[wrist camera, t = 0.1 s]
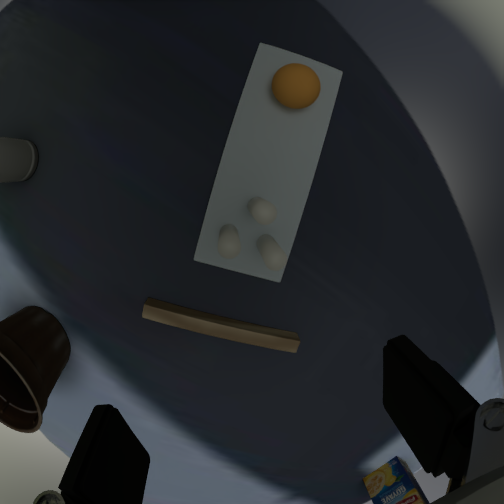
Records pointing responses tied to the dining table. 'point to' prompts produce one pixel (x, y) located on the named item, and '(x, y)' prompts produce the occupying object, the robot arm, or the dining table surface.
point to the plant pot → (29, 366)
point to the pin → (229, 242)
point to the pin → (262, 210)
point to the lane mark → (267, 163)
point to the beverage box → (394, 484)
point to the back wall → (220, 326)
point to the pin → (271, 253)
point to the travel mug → (17, 159)
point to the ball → (296, 86)
